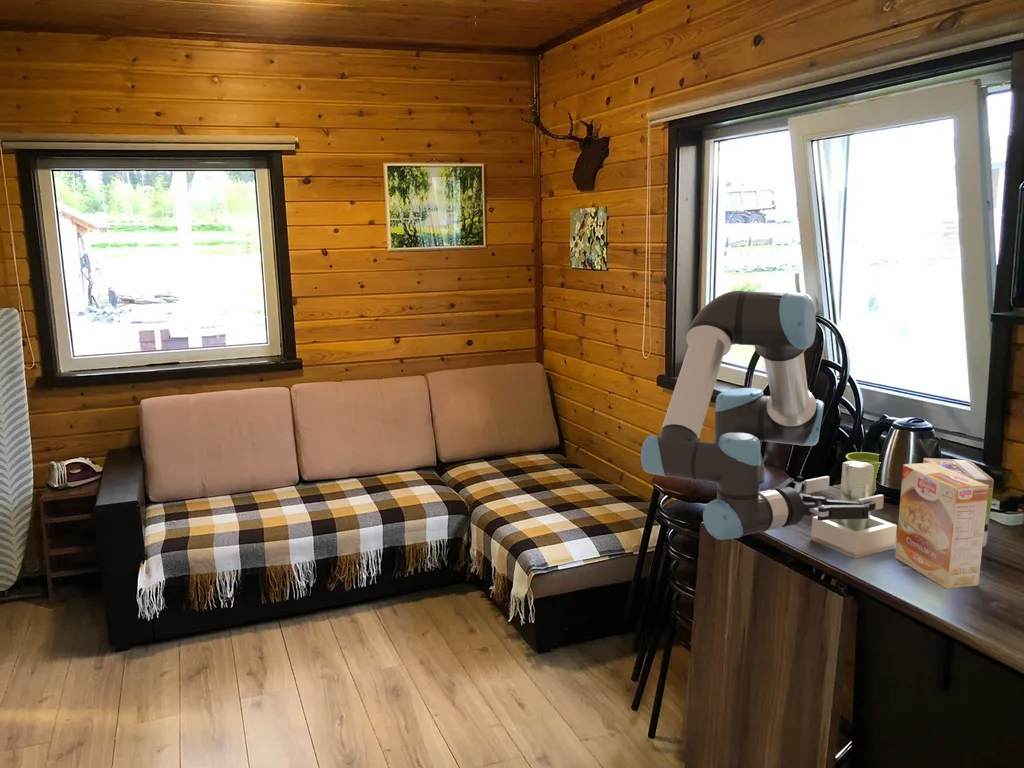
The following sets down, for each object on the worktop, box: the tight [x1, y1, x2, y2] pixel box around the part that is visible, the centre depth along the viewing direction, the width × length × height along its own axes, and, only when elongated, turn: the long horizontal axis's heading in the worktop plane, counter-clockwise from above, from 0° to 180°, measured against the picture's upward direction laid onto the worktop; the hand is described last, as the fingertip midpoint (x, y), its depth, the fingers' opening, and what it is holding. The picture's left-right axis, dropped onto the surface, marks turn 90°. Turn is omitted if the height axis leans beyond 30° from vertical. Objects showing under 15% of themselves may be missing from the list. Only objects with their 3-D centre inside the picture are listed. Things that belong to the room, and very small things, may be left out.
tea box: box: [922, 457, 995, 548], centre depth 176 cm, size 15×10×15 cm, turn 168°
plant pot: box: [845, 451, 881, 495], centre depth 205 cm, size 9×9×9 cm
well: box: [810, 514, 898, 559], centre depth 172 cm, size 12×12×5 cm
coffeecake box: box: [894, 462, 989, 590], centre depth 157 cm, size 15×7×20 cm, turn 11°
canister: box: [838, 460, 874, 531], centre depth 171 cm, size 6×6×16 cm
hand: (854, 491), depth 169 cm, fingers open, 13 cm apart
